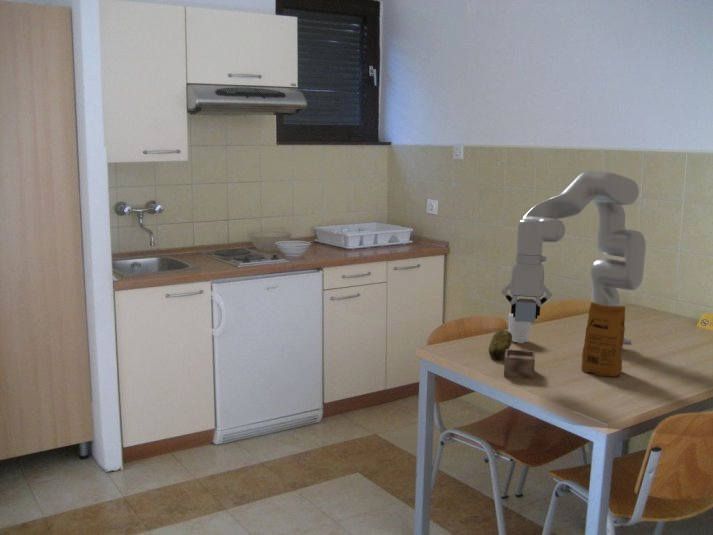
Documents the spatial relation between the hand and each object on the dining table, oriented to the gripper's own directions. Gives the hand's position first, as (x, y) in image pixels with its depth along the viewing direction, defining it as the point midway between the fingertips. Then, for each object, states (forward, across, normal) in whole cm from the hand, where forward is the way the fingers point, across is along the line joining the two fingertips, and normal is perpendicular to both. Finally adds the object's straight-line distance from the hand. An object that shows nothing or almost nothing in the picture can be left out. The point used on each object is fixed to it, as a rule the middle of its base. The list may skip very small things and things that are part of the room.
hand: (525, 316), depth 230 cm
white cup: (+18, +2, -38) cm, 42 cm away
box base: (+18, +1, 0) cm, 18 cm away
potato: (+18, +8, -18) cm, 27 cm away
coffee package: (+18, -25, -9) cm, 32 cm away
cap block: (+1, 0, 0) cm, 1 cm away
